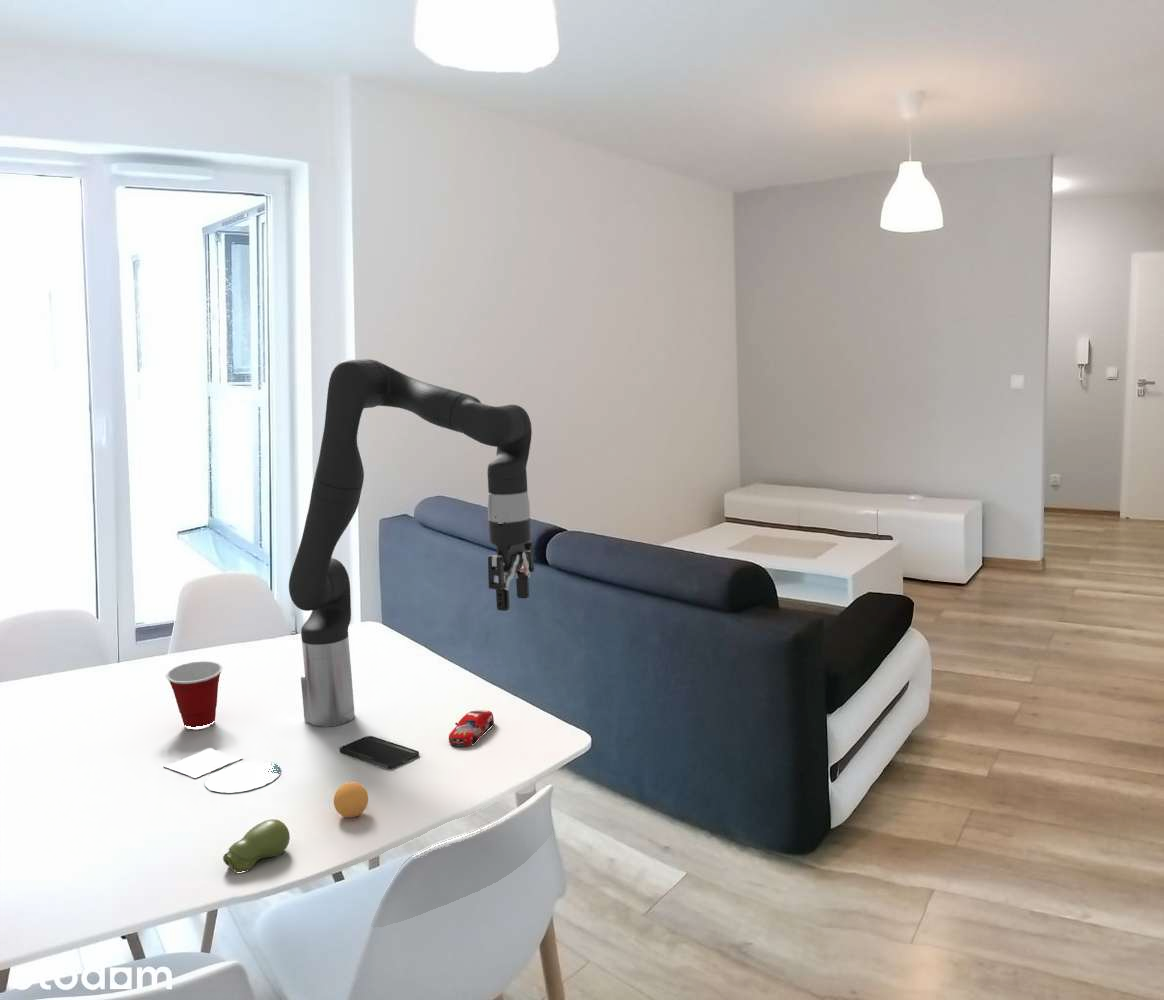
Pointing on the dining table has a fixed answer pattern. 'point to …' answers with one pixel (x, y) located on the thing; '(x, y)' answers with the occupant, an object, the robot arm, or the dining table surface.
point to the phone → (379, 752)
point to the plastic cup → (196, 691)
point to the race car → (471, 728)
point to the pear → (258, 845)
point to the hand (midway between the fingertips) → (513, 603)
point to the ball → (350, 799)
